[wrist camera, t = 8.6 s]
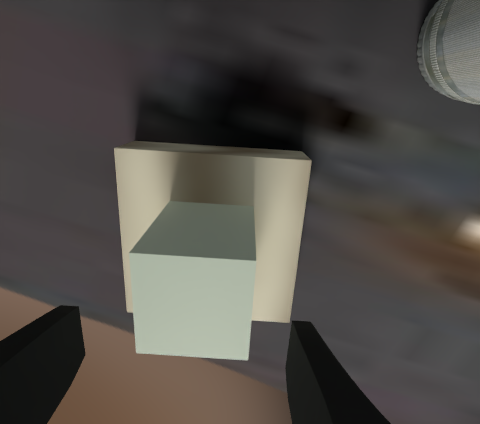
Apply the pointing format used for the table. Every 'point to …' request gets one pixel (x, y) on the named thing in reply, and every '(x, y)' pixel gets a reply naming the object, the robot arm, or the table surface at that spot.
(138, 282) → the sage block
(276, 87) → the table surface
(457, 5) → the camera lens
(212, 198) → the birch block
